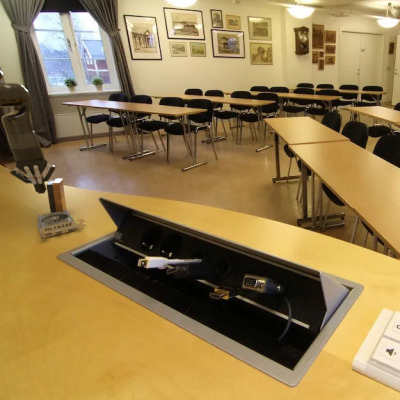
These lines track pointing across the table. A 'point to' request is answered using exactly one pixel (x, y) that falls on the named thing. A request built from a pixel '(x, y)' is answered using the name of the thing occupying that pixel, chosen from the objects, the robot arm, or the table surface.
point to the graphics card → (58, 223)
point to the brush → (56, 195)
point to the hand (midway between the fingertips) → (42, 192)
